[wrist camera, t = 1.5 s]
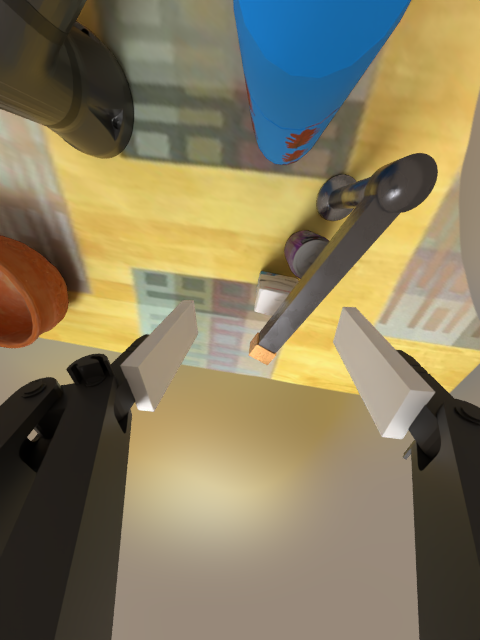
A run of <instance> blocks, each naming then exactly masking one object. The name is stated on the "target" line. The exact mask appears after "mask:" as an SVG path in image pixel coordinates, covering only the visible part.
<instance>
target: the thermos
mask: <svg viewBox="0 0 480 640" xmlns="http://www.w3.org/2000/svg"><path fill="white" fill-rule="evenodd" d="M410 2H411V0H233V3H234V14H235V20H236V26H237V32H238V38H239V45H240V51H241V57H242V63H243V69H244V75H245V82H246V88H247V94H248V100H249V106H250V113H251V119H252V125H253V130H254V133H255V136H256V139H257V143H258V146H259V149H260V150H261V152H262V153H263V154H264V156H265V157H266V158H267V159H268V160H270V161H271V162H273V163H275V164H280V165H287V164H290V163H294V162H296V161H298V160H299V159H300V158H302V157H303V156H304V155H305V154H307V152H308V151H309V150H310V149H311V148H312V147H313V146H314V144H315V143H316V141H317V140H318V138H319V137H320V136H321V134H322V133H323V131H324V130H325V128H326V127H327V126H328V124H329V123H330V121H331V120H332V118H333V117H334V115H335V114H336V113H337V111H338V110H339V108H340V107H341V105H342V104H343V103H344V101H345V100H346V98H347V97H348V95H349V94H350V92H351V91H352V90H353V88H354V87H355V85H356V84H357V82H358V81H359V80H360V78H361V77H362V75H363V74H364V72H365V71H366V69H367V68H368V67H369V65H370V64H371V62H372V61H373V59H374V58H375V57H376V55H377V54H378V52H379V51H380V49H381V48H382V46H383V45H384V44H385V42H386V41H387V39H388V38H389V36H390V35H391V34H392V32H393V31H394V29H395V28H396V26H397V25H398V23H399V22H400V20H401V18H402V17H403V15H404V13H405V11H406V9H407V7H408V5H409V4H410Z"/></svg>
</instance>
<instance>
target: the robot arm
mask: <svg viewBox="0 0 480 640" xmlns="http://www.w3.org/2000/svg"><path fill="white" fill-rule="evenodd" d="M85 2H86V0H0V109H2V110H5V111H7V112H10V113H13V114H15V115H18V116H21V117H23V118H26V119H29V120H31V121H34V122H37V123H39V124H42V125H44V126H47V127H48V128H50V129H51V130H52V131H54V132H55V133H57V134H58V135H59V136H61V137H62V138H63V139H64V140H65V141H66V142H67V143H68V144H70V145H71V146H72V147H74V148H75V149H77V150H79V151H81V152H83V153H85V154H88V155H91V156H94V157H97V158H112V157H114V156H116V155H118V154H119V153H121V152H122V151H123V150H124V148H125V147H126V145H127V144H128V142H129V139H130V137H131V133H132V128H133V104H132V98H131V93H130V89H129V86H128V83H127V80H126V78H125V75H124V73H123V71H122V69H121V67H120V65H119V63H118V62H117V60H116V59H115V57H114V56H113V54H112V53H111V52H110V50H109V49H108V48H107V47H106V46H105V45H104V44H103V43H102V42H101V41H100V40H99V39H98V38H97V37H96V36H95V35H94V34H93V33H92V32H91V31H90V30H89V29H88V28H86V27H85V26H83V25H82V24H80V23H79V22H77V21H76V19H77V17H78V16H79V14H80V12H81V10H82V8H83V6H84V4H85ZM197 335H198V329H197V322H196V314H195V307H194V300H183V301H182V302H181V303H180V304H179V305H178V306H177V307H176V308H175V309H174V310H173V311H172V312H171V313H170V314H169V315H168V316H167V317H166V318H165V319H164V320H163V321H162V323H161V324H160V325H159V326H158V327H157V328H156V329H155V330H154V331H153V332H152V333H151V334H150V335H147V334H145V335H143V336H142V337H140V338H138V339H137V340H136V341H134V342H133V343H132V344H131V346H130V347H128V348H127V349H126V351H125V352H123V353H122V354H121V355H120V356H119V357H118V358H117V359H116V360H115V361H114V362H113V363H112V364H111V365H110V363H109V360H108V358H107V356H105V355H104V354H92V355H88V356H85V357H82V358H80V359H78V360H76V361H75V362H73V363H72V364H71V365H70V366H69V367H68V368H67V371H68V373H69V375H70V376H71V378H72V380H73V381H74V383H73V384H68V385H61V386H60V385H59V383H58V381H57V380H56V379H54V378H51V377H46V378H42V379H38V380H35V381H32V382H30V383H28V384H26V385H25V386H23V387H21V388H20V389H19V390H17V391H16V392H15V393H14V394H13V395H11V396H10V397H9V398H8V399H7V400H6V401H5V402H4V403H3V404H2V405H1V406H0V640H111V636H112V626H113V616H114V604H115V594H116V583H117V572H118V561H119V550H120V540H121V528H122V518H123V507H124V495H125V485H126V474H127V464H128V453H129V441H130V431H131V420H132V413H131V410H130V408H131V407H132V405H133V404H134V402H136V405H137V407H138V410H144V411H155V409H156V407H157V405H158V404H159V402H160V400H161V398H162V397H163V395H164V393H165V391H166V389H167V388H168V386H169V384H170V382H171V380H172V379H173V377H174V375H175V374H176V372H177V370H178V368H179V367H180V365H181V363H182V361H183V360H184V358H185V356H186V354H187V352H188V351H189V349H190V347H191V345H192V344H193V342H194V340H195V338H196V337H197ZM333 343H334V345H335V347H336V349H337V351H338V353H339V355H340V357H341V359H342V360H343V362H344V364H345V366H346V368H347V370H348V372H349V374H350V376H351V378H352V380H353V382H354V384H355V386H356V388H357V390H358V392H359V394H360V395H361V397H362V399H363V401H364V403H365V405H366V407H367V409H368V411H369V413H370V415H371V417H372V419H373V421H374V422H375V424H376V427H377V428H378V430H379V432H380V434H381V436H382V437H388V438H397V439H403V437H404V436H405V434H406V433H407V431H408V430H409V431H410V432H411V434H412V436H413V437H414V439H415V440H414V441H413V442H412V444H411V445H410V447H409V448H408V449H407V450H406V452H405V453H404V456H403V458H404V459H407V458H408V457H409V456H410V454H411V460H412V481H413V504H414V527H415V549H416V571H417V592H418V593H417V594H418V615H419V639H420V640H480V408H479V407H477V406H475V405H473V404H471V403H468V402H466V401H462V400H458V399H454V398H453V397H452V396H451V395H450V394H449V393H448V392H447V391H446V390H445V389H444V388H443V387H442V386H441V385H440V384H439V383H438V382H437V381H436V380H435V379H434V378H433V377H432V376H431V375H430V374H428V372H427V371H426V370H425V369H424V368H423V367H421V365H420V364H419V363H418V362H417V361H416V360H415V359H414V358H413V357H411V356H410V355H408V354H406V353H405V352H403V351H402V350H395V349H394V348H393V347H392V346H391V344H390V343H389V342H388V341H387V340H386V339H385V338H384V337H383V336H382V335H381V334H380V333H379V332H378V331H377V330H376V329H375V327H374V326H373V325H372V324H371V323H370V322H369V321H368V320H367V319H366V318H365V317H364V316H363V315H362V314H361V313H360V312H359V310H358V309H357V308H356V307H343V308H342V312H341V316H340V319H339V323H338V326H337V330H336V333H335V337H334V341H333ZM33 429H34V430H35V431H36V432H37V433H38V434H37V436H36V437H35V438H34V439H33V440H32V441H30V440H29V439H28V438H27V436H28V435H29V434H30V433H31V431H32V430H33Z"/></svg>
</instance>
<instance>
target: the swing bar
mask: <svg viewBox="0 0 480 640" xmlns="http://www.w3.org/2000/svg"><path fill="white" fill-rule="evenodd" d="M437 174H438V170H437V165H436V162H435V160H434V159H433V158H432V157H431V156H429V155H427V154H424V153H416V154H412V155H409V156H406V157H404V158H401V159H399V160H397V161H394V162H392V163H389V164H387V165H384V166H383V167H381V168H379V169H378V170H377V171H376V172H375V173H374V174H373V175H372V176H371V178H370V179H369V181H368V183H367V185H366V188H365V192H364V197H363V199H362V200H361V201H360V203H359V204H358V205H357V206H356V208H355V209H354V210H353V212H352V213H351V214H350V216H349V217H348V218H347V219H346V221H345V222H344V223H343V225H342V226H341V227H340V229H339V230H338V231H337V232H336V234H335V235H334V236H333V238H332V239H331V240H330V242H329V243H328V244H327V245H326V247H325V248H324V249H323V251H322V252H321V253H320V255H319V256H318V257H317V259H316V260H315V261H314V262H313V264H312V265H311V266H310V268H309V269H308V270H307V272H306V273H305V274H304V275H303V277H302V278H301V279H300V281H299V282H298V283H297V285H296V286H295V287H294V288H293V290H292V291H291V292H290V294H289V295H288V296H287V298H286V299H285V300H284V302H283V303H282V304H281V305H280V307H279V308H278V309H277V311H276V312H275V313H274V315H273V316H272V317H271V318H270V320H269V321H268V322H267V324H266V325H265V326H264V328H263V329H262V330H261V331H260V333H257V334H256V335H255V337H254V338H253V339H252V341H251V342H250V349H249V356H251V357H253V358H255V359H257V360H259V361H261V362H262V363H264V364H266V365H268V364H269V363H270V362H271V361H272V359H273V358H274V357H275V356H276V352H277V351H278V350H279V349H280V348H281V347H282V345H283V344H284V343H285V342H286V341H287V340H288V339H289V338H290V336H291V335H292V334H293V333H294V332H295V331H296V330H297V329H298V327H299V326H300V325H301V324H302V323H303V322H304V321H305V320H306V318H307V317H308V316H309V315H310V314H311V313H312V312H313V311H314V309H315V308H316V307H317V306H318V305H319V304H320V303H321V302H322V300H323V299H324V298H325V297H326V296H327V295H328V294H329V293H330V291H331V290H332V289H333V288H334V287H335V286H336V285H337V284H338V282H339V281H340V280H341V279H342V278H343V277H344V276H345V275H346V273H347V272H348V271H349V270H350V269H351V268H352V267H353V266H354V264H355V263H356V262H357V261H358V260H359V259H360V258H361V257H362V255H363V254H364V253H365V252H366V251H367V250H368V249H369V248H370V246H371V245H372V244H373V243H374V242H375V241H376V240H377V239H378V237H379V236H380V235H381V234H382V233H383V232H384V231H385V230H386V228H387V227H388V226H389V225H390V224H391V223H392V222H393V221H394V220H395V218H396V217H397V216H398V215H399V214H400V213H401V212H406V211H409V210H411V209H413V208H415V207H417V206H418V205H419V204H421V203H422V202H423V201H424V200H425V199H426V198H427V197H428V195H429V194H430V193H431V191H432V189H433V187H434V185H435V183H436V180H437Z"/></svg>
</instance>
